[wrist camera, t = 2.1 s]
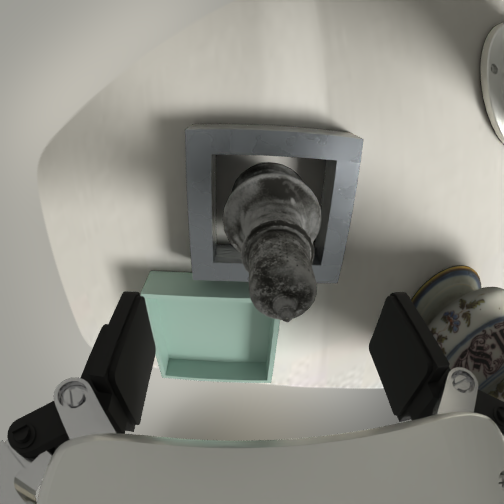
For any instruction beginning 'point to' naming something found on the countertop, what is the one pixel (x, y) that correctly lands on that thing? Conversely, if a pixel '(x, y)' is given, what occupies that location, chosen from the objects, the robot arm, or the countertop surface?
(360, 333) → the countertop surface
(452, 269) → the apothecary jar
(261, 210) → the salt shaker
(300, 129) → the grey square frame
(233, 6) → the countertop surface
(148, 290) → the tray
